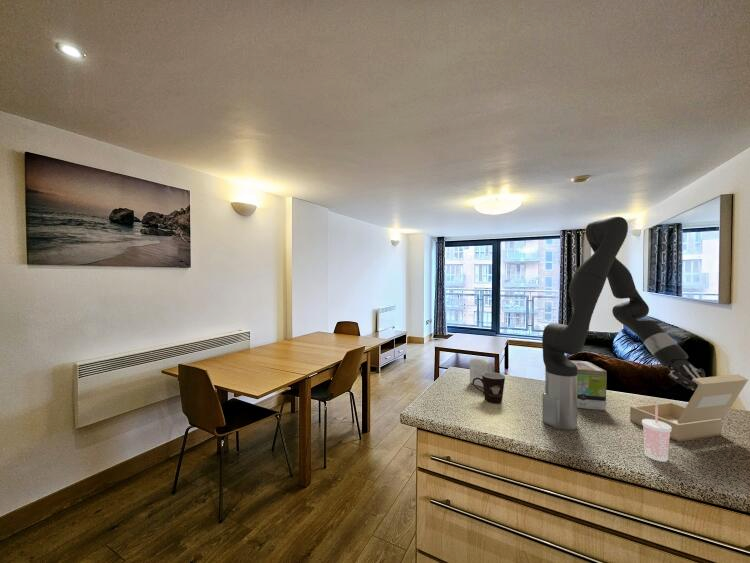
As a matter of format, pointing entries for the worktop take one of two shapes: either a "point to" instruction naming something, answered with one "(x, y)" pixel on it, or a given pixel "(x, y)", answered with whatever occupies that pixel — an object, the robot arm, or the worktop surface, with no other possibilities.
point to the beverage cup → (656, 438)
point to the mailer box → (671, 415)
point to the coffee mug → (492, 386)
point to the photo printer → (479, 369)
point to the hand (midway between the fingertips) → (710, 400)
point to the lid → (712, 398)
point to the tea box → (590, 386)
